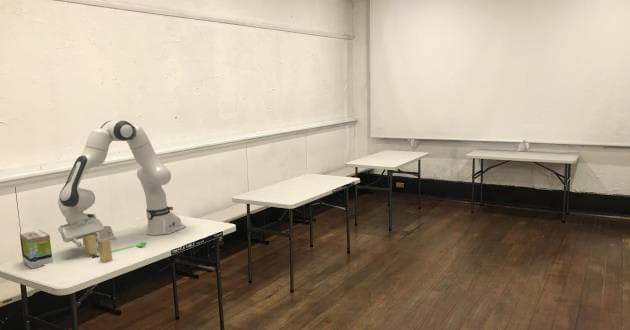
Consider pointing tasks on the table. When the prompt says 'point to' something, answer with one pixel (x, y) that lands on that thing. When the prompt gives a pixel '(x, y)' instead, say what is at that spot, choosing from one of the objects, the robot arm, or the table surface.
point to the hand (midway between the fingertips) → (89, 243)
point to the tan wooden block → (105, 250)
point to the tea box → (36, 248)
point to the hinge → (105, 234)
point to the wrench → (131, 247)
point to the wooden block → (90, 245)
